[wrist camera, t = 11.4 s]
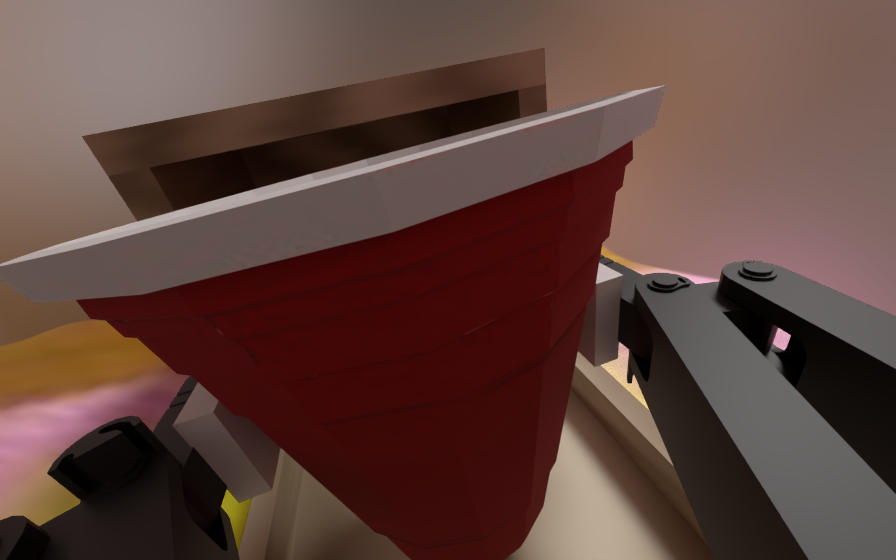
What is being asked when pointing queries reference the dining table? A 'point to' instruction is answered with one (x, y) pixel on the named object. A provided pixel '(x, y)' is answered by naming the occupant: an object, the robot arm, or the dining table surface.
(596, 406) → the tray
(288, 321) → the plastic cup
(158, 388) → the dining table surface
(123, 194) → the block
